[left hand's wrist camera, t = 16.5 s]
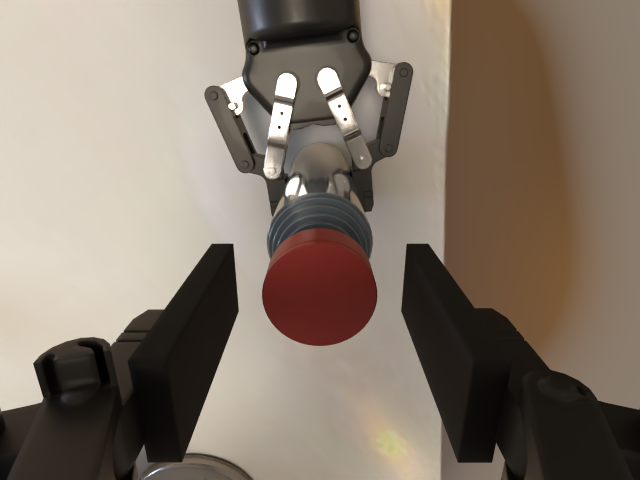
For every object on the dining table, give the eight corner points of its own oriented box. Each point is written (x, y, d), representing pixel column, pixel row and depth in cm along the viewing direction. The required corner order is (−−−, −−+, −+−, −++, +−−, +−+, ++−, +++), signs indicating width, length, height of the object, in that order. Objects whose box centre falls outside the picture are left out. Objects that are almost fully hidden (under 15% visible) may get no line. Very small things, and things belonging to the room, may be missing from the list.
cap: (246, 267, 14) (238, 288, 13) (329, 206, 14) (330, 220, 12) (311, 338, 15) (310, 364, 14) (391, 284, 15) (399, 306, 13)
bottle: (353, 150, 34) (407, 244, 13) (338, 201, 36) (365, 360, 15) (300, 136, 34) (266, 208, 13) (287, 188, 35) (238, 332, 14)
